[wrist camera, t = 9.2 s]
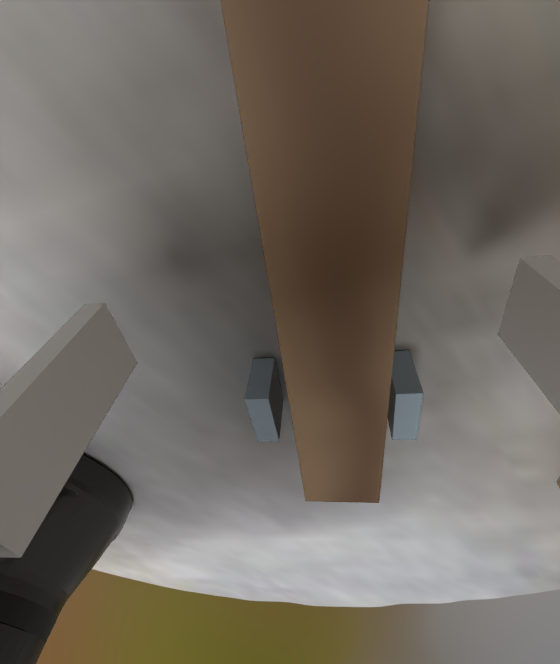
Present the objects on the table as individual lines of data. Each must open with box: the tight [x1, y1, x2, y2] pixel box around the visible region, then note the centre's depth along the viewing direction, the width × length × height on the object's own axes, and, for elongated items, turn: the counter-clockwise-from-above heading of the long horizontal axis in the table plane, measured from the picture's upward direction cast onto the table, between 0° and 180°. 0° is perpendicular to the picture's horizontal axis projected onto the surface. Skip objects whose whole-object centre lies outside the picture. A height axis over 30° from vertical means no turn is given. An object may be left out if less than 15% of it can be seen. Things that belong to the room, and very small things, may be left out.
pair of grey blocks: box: [244, 350, 424, 442], centre depth 18 cm, size 8×4×3 cm, turn 99°
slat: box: [221, 0, 429, 503], centre depth 14 cm, size 4×22×5 cm, turn 7°
